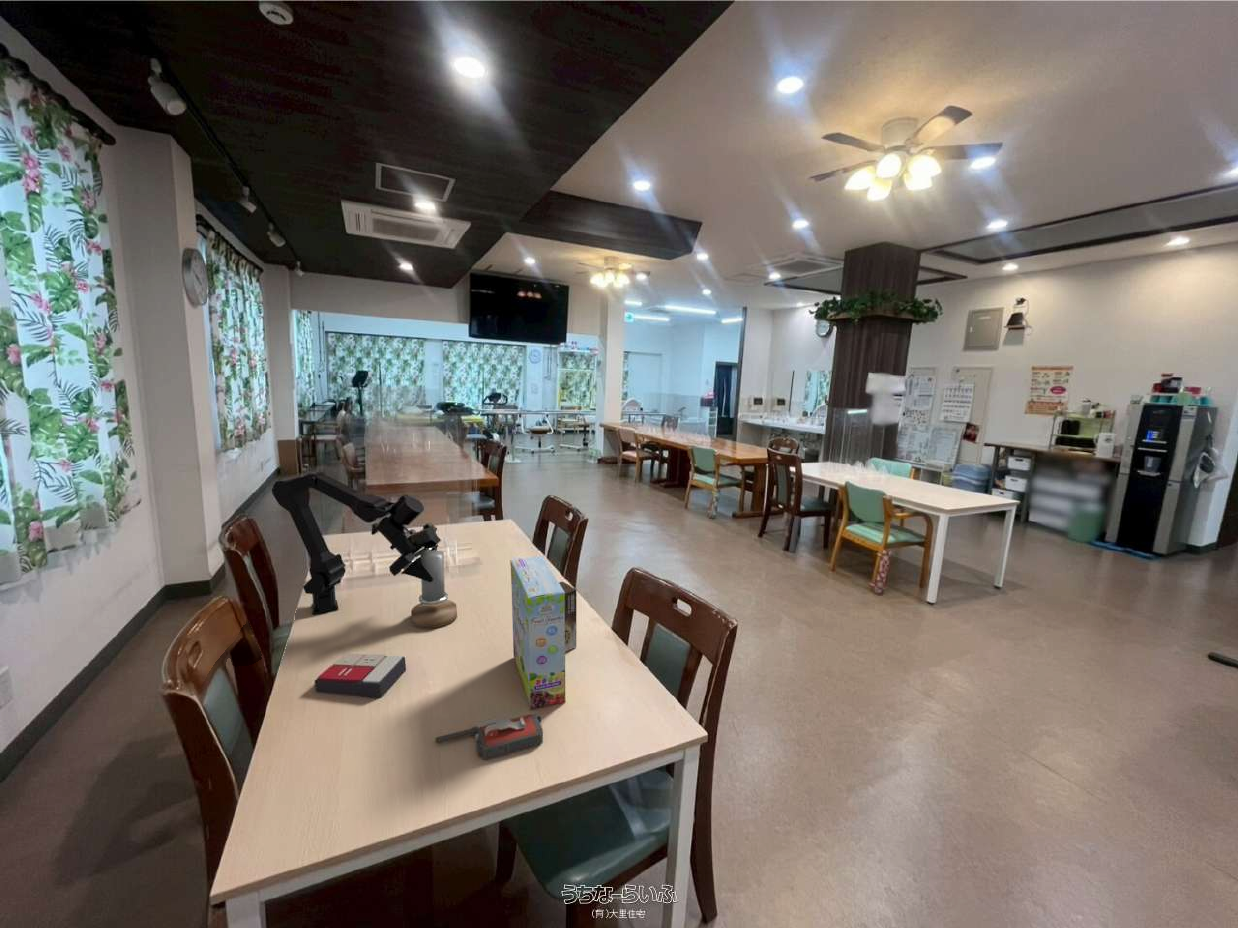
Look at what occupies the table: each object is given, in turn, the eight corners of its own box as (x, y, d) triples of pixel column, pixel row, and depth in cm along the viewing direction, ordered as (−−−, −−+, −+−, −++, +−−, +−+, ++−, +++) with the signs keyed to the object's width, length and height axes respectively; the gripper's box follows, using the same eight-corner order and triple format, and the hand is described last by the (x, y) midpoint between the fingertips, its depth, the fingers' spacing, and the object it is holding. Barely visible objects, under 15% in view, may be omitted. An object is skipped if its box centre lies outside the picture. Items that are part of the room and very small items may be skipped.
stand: (407, 614, 146) (407, 604, 146) (450, 605, 153) (450, 596, 152) (416, 633, 137) (416, 622, 136) (462, 622, 143) (461, 612, 142)
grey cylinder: (412, 599, 142) (411, 555, 140) (435, 590, 149) (434, 547, 146) (431, 607, 138) (429, 561, 136) (453, 597, 145) (452, 553, 143)
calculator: (344, 650, 121) (405, 653, 120) (346, 667, 122) (407, 670, 120) (312, 678, 110) (379, 681, 109) (315, 696, 111) (381, 699, 110)
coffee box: (562, 637, 137) (562, 580, 134) (577, 647, 132) (578, 588, 129) (533, 649, 131) (532, 589, 128) (547, 660, 126) (547, 598, 123)
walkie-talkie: (537, 716, 106) (434, 742, 98) (537, 697, 105) (434, 722, 97) (549, 745, 98) (439, 776, 90) (550, 724, 97) (438, 753, 89)
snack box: (509, 656, 127) (508, 557, 122) (544, 650, 130) (544, 554, 125) (527, 712, 107) (526, 596, 102) (567, 703, 110) (569, 590, 105)
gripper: (398, 526, 131) (440, 571, 131) (433, 508, 149) (470, 547, 150) (371, 553, 133) (412, 597, 134) (409, 532, 151) (445, 570, 152)
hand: (437, 576), depth 142 cm, fingers closed on grey cylinder, 6 cm apart
